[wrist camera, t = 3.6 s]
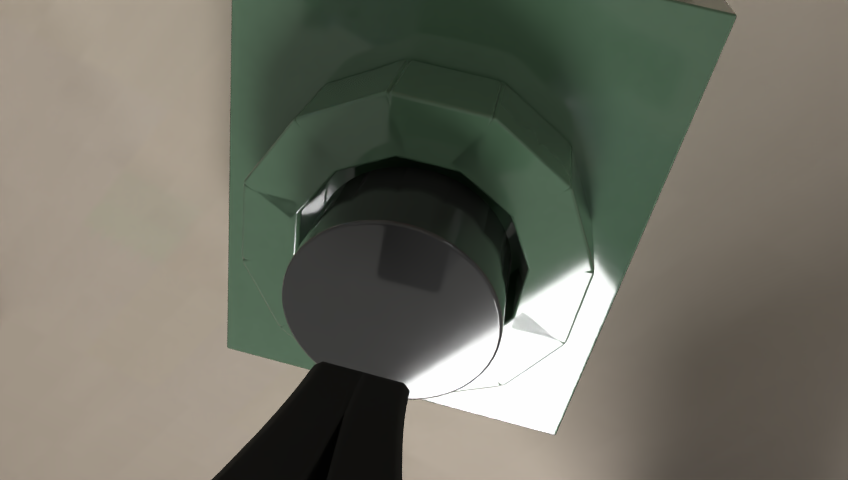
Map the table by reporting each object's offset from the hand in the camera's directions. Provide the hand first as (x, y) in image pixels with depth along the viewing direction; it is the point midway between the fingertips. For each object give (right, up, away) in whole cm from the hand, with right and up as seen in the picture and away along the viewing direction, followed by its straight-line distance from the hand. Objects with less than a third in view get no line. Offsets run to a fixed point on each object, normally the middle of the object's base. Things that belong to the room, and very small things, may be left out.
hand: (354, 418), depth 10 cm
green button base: (+2, +5, +7) cm, 9 cm away
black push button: (+1, +2, +4) cm, 4 cm away
